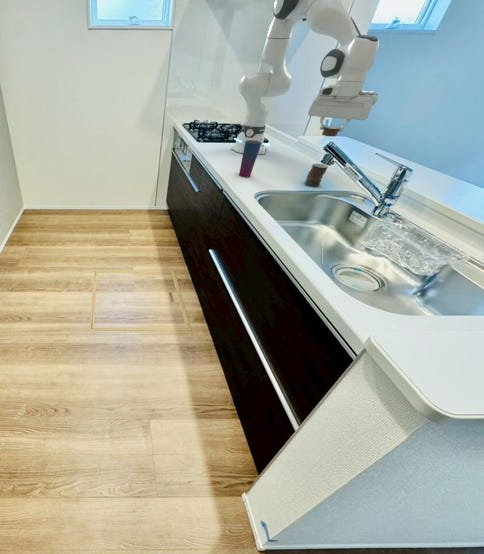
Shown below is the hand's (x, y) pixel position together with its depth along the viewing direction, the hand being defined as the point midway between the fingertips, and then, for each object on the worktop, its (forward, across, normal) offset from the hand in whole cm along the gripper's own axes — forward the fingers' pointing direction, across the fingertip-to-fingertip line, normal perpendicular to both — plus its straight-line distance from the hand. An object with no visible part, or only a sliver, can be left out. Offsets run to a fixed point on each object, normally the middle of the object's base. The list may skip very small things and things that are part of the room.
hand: (330, 130), depth 120 cm
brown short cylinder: (+2, 0, 0) cm, 2 cm away
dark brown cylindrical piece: (+22, -1, +2) cm, 22 cm away
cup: (+22, +27, +7) cm, 35 cm away
